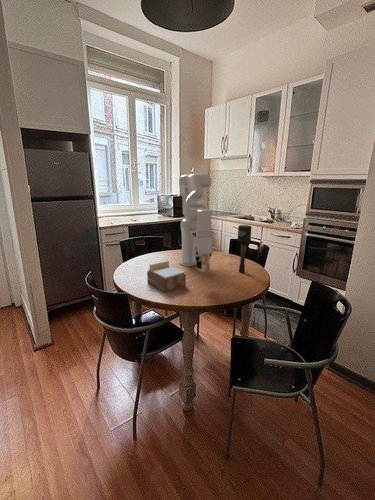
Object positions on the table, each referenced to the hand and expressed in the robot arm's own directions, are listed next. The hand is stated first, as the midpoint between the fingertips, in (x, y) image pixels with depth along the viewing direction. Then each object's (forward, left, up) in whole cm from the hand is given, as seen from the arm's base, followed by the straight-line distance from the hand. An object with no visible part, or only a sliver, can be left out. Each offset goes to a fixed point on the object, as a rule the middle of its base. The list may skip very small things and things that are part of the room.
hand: (202, 266), depth 135 cm
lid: (+13, -16, -5) cm, 21 cm away
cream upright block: (0, 0, -2) cm, 2 cm away
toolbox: (+13, -16, -12) cm, 24 cm away
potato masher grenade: (-36, -1, -12) cm, 38 cm away
